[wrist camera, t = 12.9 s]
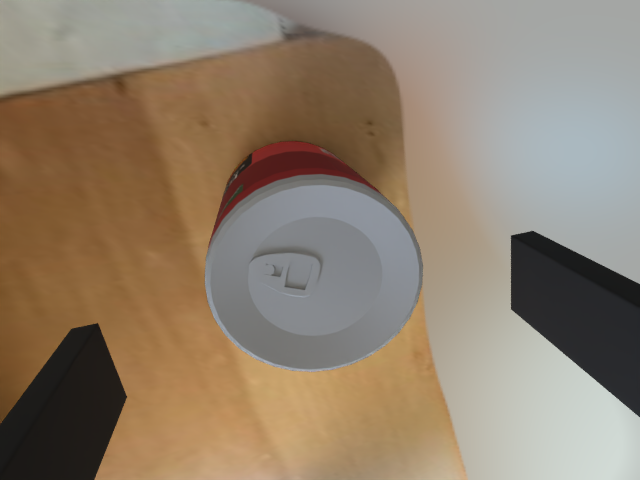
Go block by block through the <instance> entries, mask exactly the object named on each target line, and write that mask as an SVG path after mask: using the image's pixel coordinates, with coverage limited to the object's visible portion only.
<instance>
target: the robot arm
mask: <svg viewBox="0 0 640 480" xmlns="http://www.w3.org/2000/svg"><path fill="white" fill-rule="evenodd" d="M511 309H512V310H513V311H514V312H515V313H516V314H518V315H519V316H520V317H521V318H522V319H523V320H525V321H526V322H527V323H528V324H529V325H531V326H532V327H533V328H534V329H535V330H537V331H538V332H539V333H540V334H541V335H543V336H544V337H545V338H546V339H547V340H548V341H550V342H551V343H552V344H553V345H554V346H556V347H557V348H558V349H559V350H560V351H562V352H563V353H564V354H565V355H566V356H568V357H569V358H570V359H571V360H572V361H573V362H575V363H576V364H577V365H578V366H579V367H581V368H582V369H583V370H584V371H585V372H587V373H588V374H589V375H590V376H591V377H593V378H594V379H595V380H596V381H597V382H599V383H600V384H601V385H602V386H603V387H604V388H606V389H607V390H608V391H609V392H611V393H612V394H613V395H614V396H615V397H616V398H618V399H619V400H620V401H621V402H622V403H623V404H625V405H626V406H627V407H628V408H630V409H631V410H632V411H633V412H634V413H635V414H637V415H638V416H639V417H640V284H638V283H636V282H634V281H632V280H630V279H628V278H626V277H624V276H622V275H620V274H618V273H616V272H614V271H612V270H610V269H608V268H606V267H604V266H602V265H600V264H598V263H596V262H594V261H592V260H590V259H588V258H586V257H584V256H582V255H580V254H578V253H576V252H574V251H572V250H570V249H568V248H566V247H564V246H562V245H560V244H558V243H556V242H554V241H552V240H550V239H548V238H546V237H544V236H542V235H540V234H538V233H536V232H534V231H530V232H526V233H521V234H516V235H512V236H511ZM126 398H127V396H126V393H125V391H124V388H123V386H122V383H121V381H120V378H119V375H118V373H117V370H116V368H115V365H114V363H113V360H112V358H111V355H110V353H109V350H108V348H107V345H106V342H105V340H104V337H103V335H102V332H101V330H100V327H99V325H98V323H97V324H92V325H87V326H83V327H78V328H73V329H71V330H70V331H69V333H68V334H67V335H66V337H65V338H64V340H63V341H62V342H61V344H60V345H59V346H58V348H57V349H56V350H55V352H54V353H53V354H52V356H51V357H50V358H49V360H48V361H47V362H46V364H45V365H44V366H43V368H42V369H41V371H40V372H39V373H38V375H37V376H36V377H35V379H34V380H33V381H32V383H31V384H30V385H29V387H28V388H27V389H26V391H25V392H24V393H23V395H22V396H21V397H20V399H19V400H18V402H17V403H16V404H15V406H14V407H13V408H12V410H11V411H10V412H9V414H8V415H7V416H6V418H5V419H4V420H3V422H2V423H1V424H0V480H94V479H95V477H96V474H97V471H98V469H99V466H100V464H101V461H102V459H103V456H104V454H105V451H106V449H107V446H108V444H109V441H110V439H111V436H112V434H113V431H114V429H115V426H116V424H117V421H118V419H119V416H120V413H121V411H122V408H123V406H124V403H125V401H126Z"/></svg>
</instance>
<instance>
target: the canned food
mask: <svg viewBox="0 0 640 480" xmlns="http://www.w3.org/2000/svg"><path fill="white" fill-rule="evenodd" d="M422 276H423V263H422V258H421V252H420V247H419V245H418V242H417V240H416V237H415V235H414V233H413V230H412V229H411V227H410V226H409V224H408V223H407V221H406V220H405V219H404V217H403V216H402V214H401V213H400V211H399V210H398V209H397V208H396V207H395V206H394V205H393V204H392V203H391V202H390V201H389V200H388V199H387V198H386V197H384V196H383V195H382V194H381V193H380V192H379V191H378V190H377V189H376V188H375V187H373V186H372V185H371V184H370V183H368V182H367V181H366V180H365V179H364V178H362V177H361V176H360V175H359V174H357V173H356V172H355V171H354V170H352V169H351V168H350V167H349V166H348V165H346V164H345V163H344V162H343V161H341V160H340V159H339V158H338V157H336V156H335V155H334V154H332V153H330V152H329V151H327V150H325V149H324V148H321V147H319V146H316V145H313V144H310V143H304V142H298V141H288V142H279V143H274V144H270V145H267V146H265V147H262V148H260V149H258V150H256V151H254V152H253V153H251V154H250V155H249V156H247V157H246V158H245V159H243V160H242V162H241V163H240V164H239V165H238V166H237V167H236V168H235V169H234V171H233V173H232V175H231V176H230V178H229V180H228V182H227V185H226V188H225V191H224V195H223V198H222V202H221V205H220V208H219V212H218V215H217V219H216V222H215V225H214V229H213V232H212V236H211V239H210V242H209V247H208V252H207V256H206V266H205V286H206V293H207V299H208V303H209V306H210V308H211V311H212V313H213V316H214V319H215V320H216V322H217V323H218V325H219V326H220V328H221V329H222V331H223V332H224V334H225V335H226V336H227V337H228V338H229V339H230V340H231V341H232V342H233V343H234V344H235V345H236V346H237V347H238V348H239V349H241V350H242V351H244V352H246V353H247V354H249V355H250V356H252V357H253V358H255V359H257V360H259V361H262V362H264V363H267V364H269V365H271V366H274V367H279V368H283V369H288V370H292V371H309V372H315V371H324V370H333V369H336V368H340V367H344V366H347V365H351V364H353V363H356V362H358V361H360V360H362V359H364V358H367V357H369V356H370V355H372V354H373V353H375V352H376V351H378V350H379V349H381V348H382V347H384V346H385V345H386V344H387V343H388V342H390V341H391V340H392V339H393V338H394V337H395V336H396V335H397V334H398V333H399V332H400V330H401V329H402V328H403V326H404V325H405V324H406V322H407V321H408V320H409V318H410V316H411V314H412V312H413V310H414V308H415V306H416V304H417V302H418V298H419V294H420V290H421V287H422Z"/></svg>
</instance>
